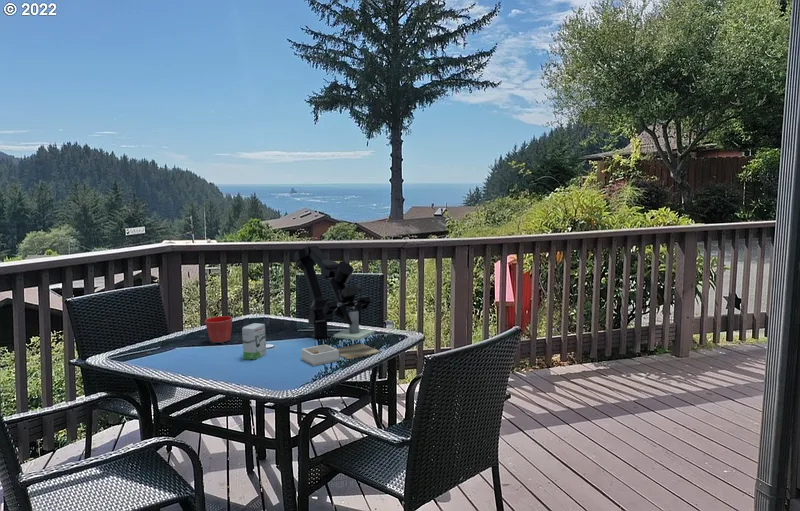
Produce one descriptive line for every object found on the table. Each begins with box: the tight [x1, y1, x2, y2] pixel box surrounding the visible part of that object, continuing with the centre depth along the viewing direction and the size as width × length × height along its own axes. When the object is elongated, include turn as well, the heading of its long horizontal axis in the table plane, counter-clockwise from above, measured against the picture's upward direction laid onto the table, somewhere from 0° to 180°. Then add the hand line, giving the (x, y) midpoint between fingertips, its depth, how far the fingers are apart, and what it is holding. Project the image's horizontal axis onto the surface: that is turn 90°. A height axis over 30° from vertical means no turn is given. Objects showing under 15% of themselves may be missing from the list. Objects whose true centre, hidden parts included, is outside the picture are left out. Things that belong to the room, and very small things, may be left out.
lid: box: [333, 310, 375, 341], centre depth 220 cm, size 11×11×9 cm
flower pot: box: [204, 315, 233, 342], centre depth 241 cm, size 11×11×10 cm
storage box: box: [300, 344, 340, 367], centre depth 212 cm, size 10×10×4 cm
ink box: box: [241, 322, 267, 361], centre depth 219 cm, size 9×5×12 cm, turn 162°
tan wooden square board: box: [336, 343, 382, 360], centre depth 221 cm, size 14×14×1 cm
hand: (355, 323), depth 219 cm, fingers closed on lid, 4 cm apart
